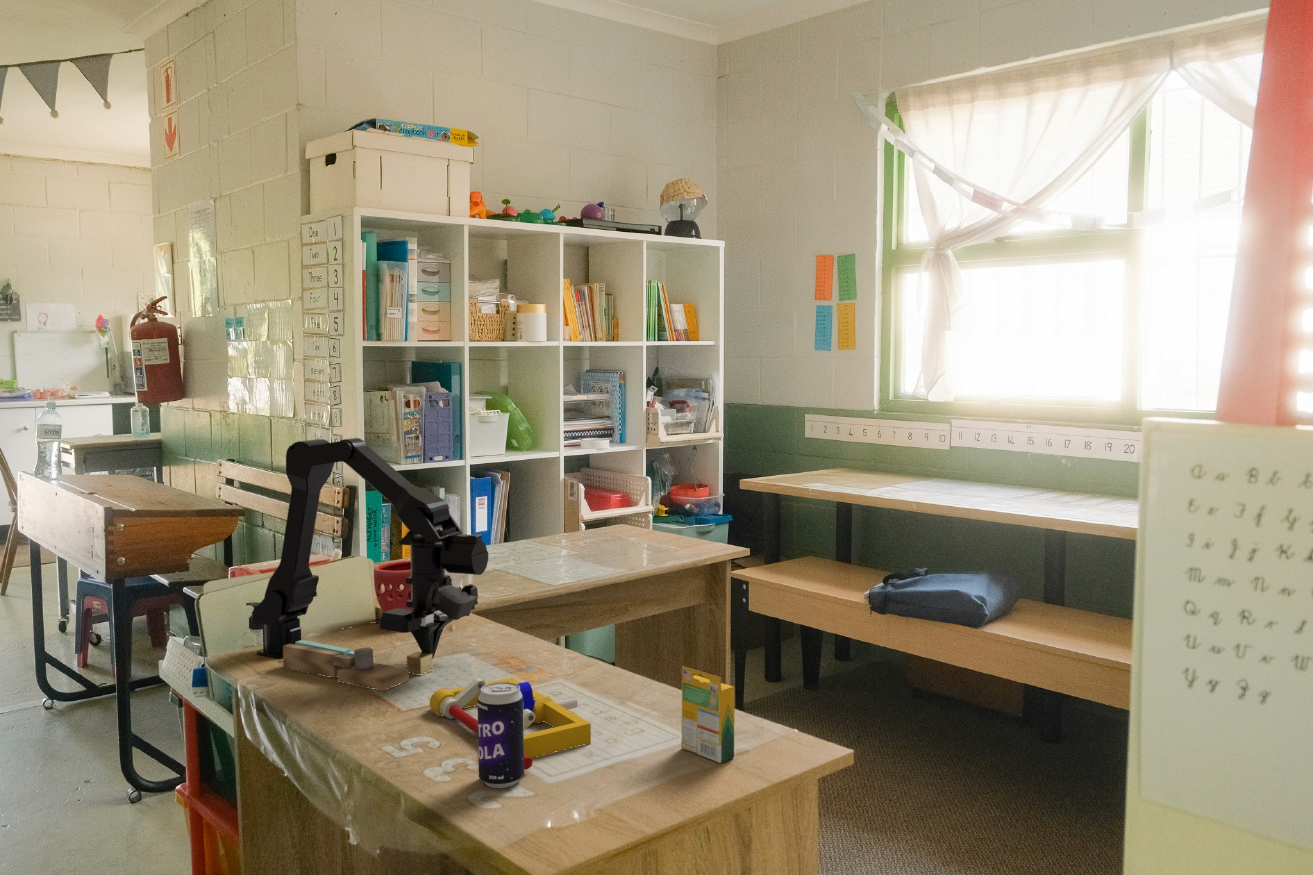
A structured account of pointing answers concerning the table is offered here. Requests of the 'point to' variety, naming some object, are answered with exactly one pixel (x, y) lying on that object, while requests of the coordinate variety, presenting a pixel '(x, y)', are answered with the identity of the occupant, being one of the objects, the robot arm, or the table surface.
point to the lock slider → (419, 662)
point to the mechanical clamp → (535, 709)
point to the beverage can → (500, 734)
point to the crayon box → (707, 715)
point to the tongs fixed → (355, 670)
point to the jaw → (326, 648)
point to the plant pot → (393, 585)
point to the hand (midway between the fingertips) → (429, 659)
